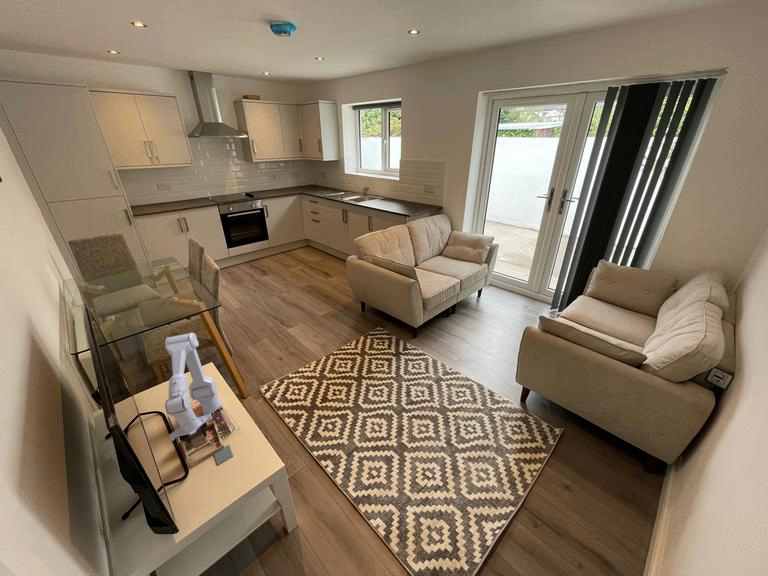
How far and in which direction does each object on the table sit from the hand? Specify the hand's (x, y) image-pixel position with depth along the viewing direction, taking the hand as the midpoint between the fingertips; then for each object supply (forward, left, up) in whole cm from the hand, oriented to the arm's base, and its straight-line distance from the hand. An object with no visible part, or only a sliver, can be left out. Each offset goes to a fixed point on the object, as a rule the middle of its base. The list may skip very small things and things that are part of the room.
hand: (198, 438), depth 124 cm
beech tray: (-3, 0, -8) cm, 9 cm away
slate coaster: (+7, +5, -8) cm, 12 cm away
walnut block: (0, 0, -2) cm, 2 cm away
